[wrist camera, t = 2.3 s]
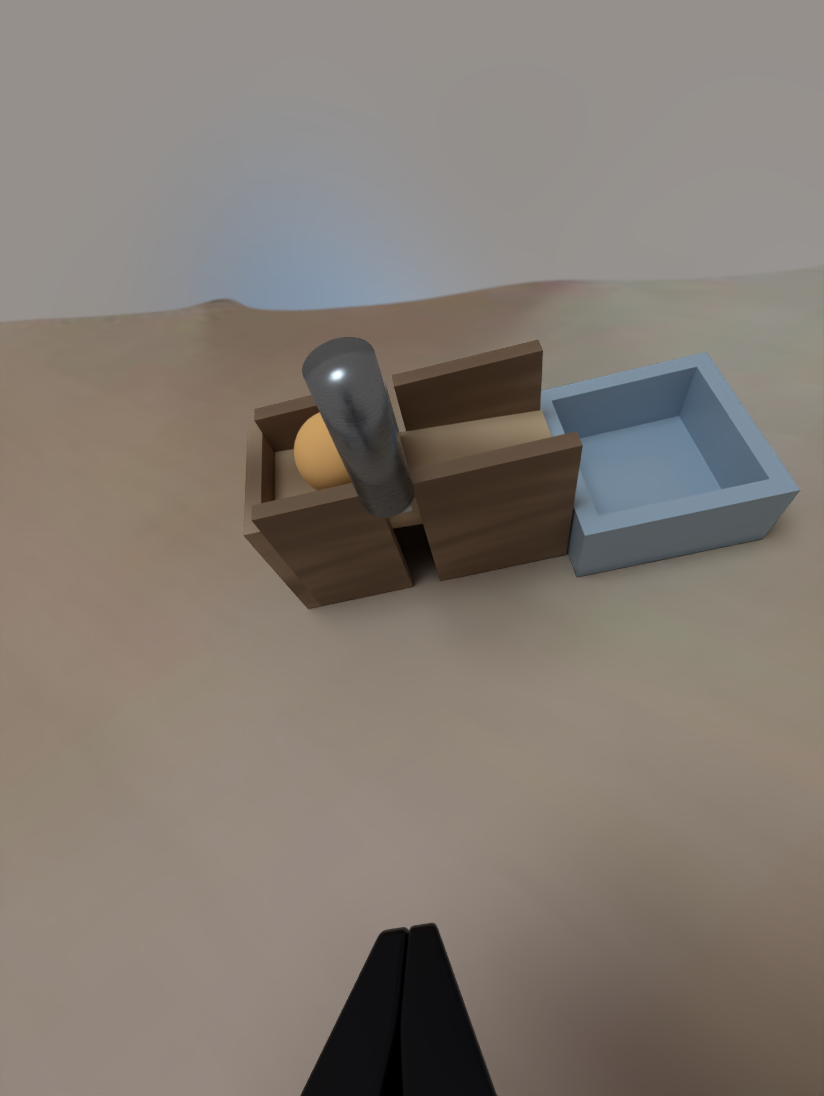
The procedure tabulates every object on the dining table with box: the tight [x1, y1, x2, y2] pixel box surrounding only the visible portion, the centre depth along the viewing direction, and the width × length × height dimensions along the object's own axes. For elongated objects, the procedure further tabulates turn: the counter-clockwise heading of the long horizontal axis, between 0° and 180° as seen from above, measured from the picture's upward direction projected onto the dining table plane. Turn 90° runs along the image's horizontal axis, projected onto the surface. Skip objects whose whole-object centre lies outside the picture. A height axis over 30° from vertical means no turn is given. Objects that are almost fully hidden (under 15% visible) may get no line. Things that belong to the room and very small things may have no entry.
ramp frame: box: [243, 340, 583, 609], centre depth 24 cm, size 6×13×8 cm, turn 98°
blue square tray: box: [540, 352, 800, 577], centre depth 25 cm, size 9×9×4 cm
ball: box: [294, 412, 352, 490], centre depth 21 cm, size 4×4×4 cm
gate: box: [302, 337, 415, 518], centre depth 18 cm, size 8×2×9 cm, turn 8°
